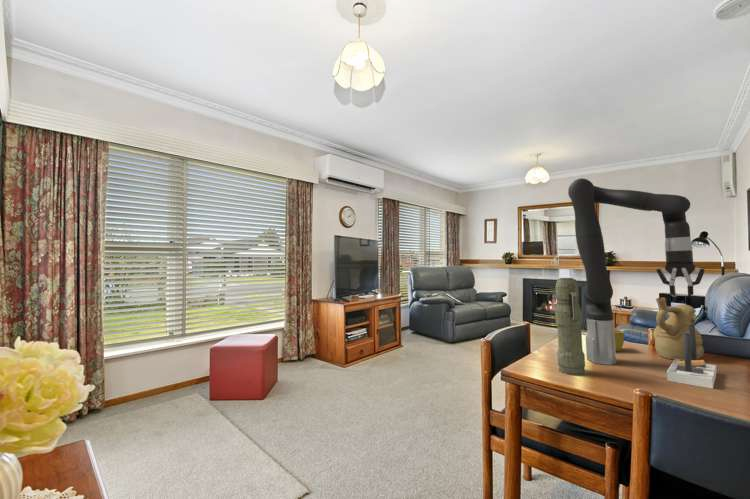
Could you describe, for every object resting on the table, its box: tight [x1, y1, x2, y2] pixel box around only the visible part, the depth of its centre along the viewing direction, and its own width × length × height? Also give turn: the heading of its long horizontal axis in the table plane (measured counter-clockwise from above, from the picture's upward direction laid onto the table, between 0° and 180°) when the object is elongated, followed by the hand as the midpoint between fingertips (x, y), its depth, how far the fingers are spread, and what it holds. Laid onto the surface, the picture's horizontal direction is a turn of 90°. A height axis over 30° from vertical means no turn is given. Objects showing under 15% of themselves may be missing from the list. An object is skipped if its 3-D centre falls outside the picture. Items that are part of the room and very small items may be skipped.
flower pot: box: [614, 328, 625, 352], centre depth 154 cm, size 9×9×9 cm
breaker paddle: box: [677, 359, 706, 367], centre depth 117 cm, size 2×7×2 cm, turn 42°
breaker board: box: [666, 359, 718, 390], centre depth 117 cm, size 19×11×4 cm, turn 132°
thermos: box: [554, 277, 586, 376], centre depth 127 cm, size 9×12×35 cm
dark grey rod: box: [689, 324, 697, 360], centre depth 123 cm, size 2×2×13 cm
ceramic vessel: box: [652, 297, 705, 361], centre depth 140 cm, size 17×20×25 cm
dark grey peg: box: [683, 332, 692, 372], centre depth 111 cm, size 2×2×13 cm
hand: (681, 295), depth 125 cm, fingers open, 3 cm apart
